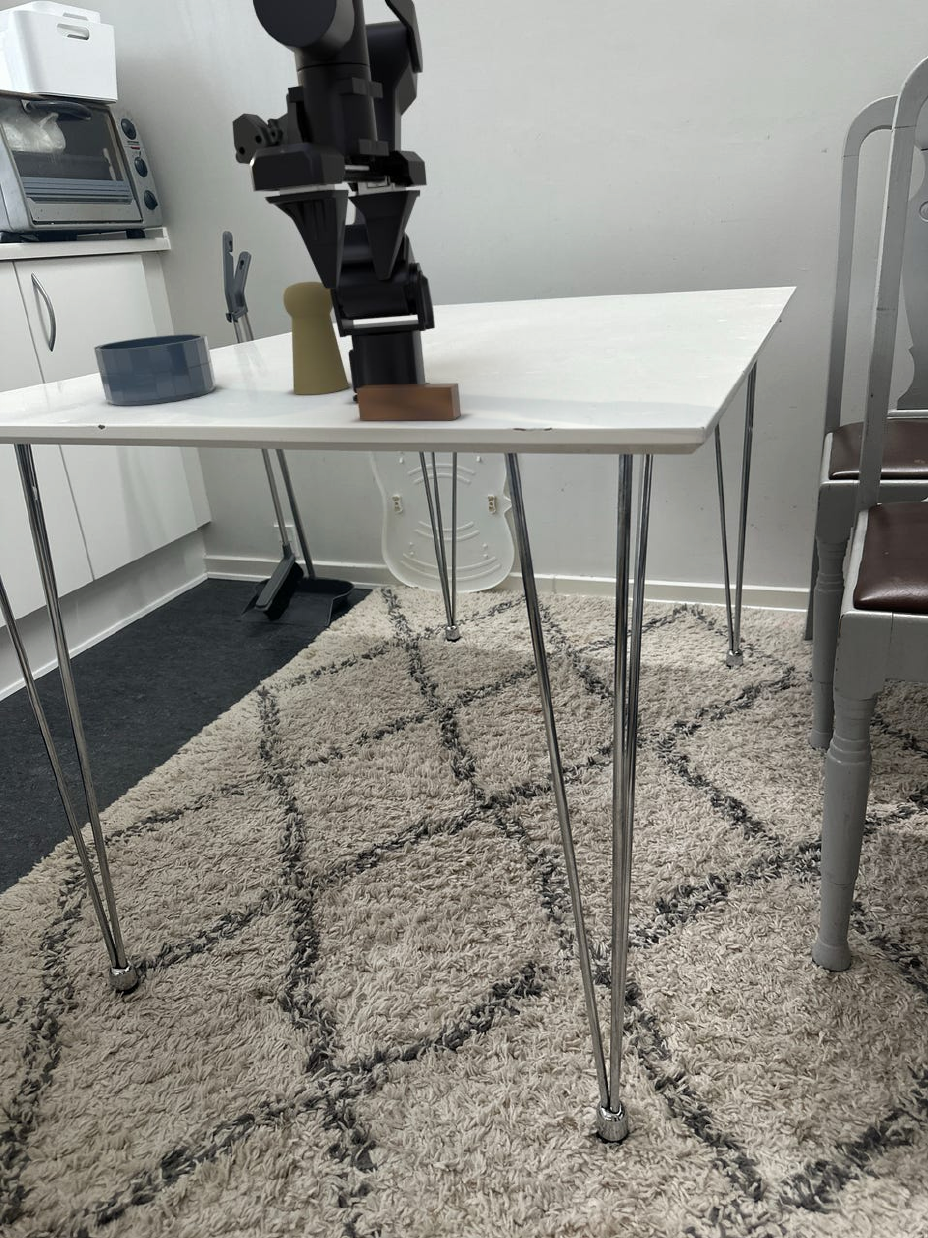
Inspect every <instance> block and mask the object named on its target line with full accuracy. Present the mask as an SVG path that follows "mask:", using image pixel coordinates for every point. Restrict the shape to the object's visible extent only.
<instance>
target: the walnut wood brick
mask: <svg viewBox="0 0 928 1238" xmlns="http://www.w3.org/2000/svg"><path fill="white" fill-rule="evenodd" d="M356 390H357V393H356V394H357V398H358V401H357V405H358V413H359V420H360V421H454V420H456V419H457V418H460V417H461V416H462V414H461V400H460V387H459V383H458V382H455V383H454V382H452V383H449V382H448V383H430V384H395V385H365V386H362V387H360V388H357V389H356Z"/></svg>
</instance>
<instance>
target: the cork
mask: <svg viewBox="0 0 928 1238" xmlns="http://www.w3.org/2000/svg"><path fill="white" fill-rule="evenodd" d="M282 298H283V306H284V309H285V311H286V313H287V314H288V315H289V316H290V317H291V345H292V349H291V350H292V382H293V394H296V395H306V396H308V395H309V396H311V395H322V394H323V395H324V394H330V393H336V392H339V391H345V390H346V389H348V388H349V387H350V385H349V381H348V377H347V374H346V373H347V372H346V370H345V366H344V363H343V358H342V354H341V350H340V346H339V344H338V340H337V339H338V338H337V335H336V332H335V328H334V324H333V320H332V316H331V312H332V311H333V309H334V308H333V304H332V299H331V294H330V289H326V288H324V286H323V284H322V282H320V281H304V282H297V283H294V284H291V285H288V286H287V287H286V288H285V290H284V293H283V297H282Z"/></svg>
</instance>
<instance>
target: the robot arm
mask: <svg viewBox="0 0 928 1238" xmlns="http://www.w3.org/2000/svg"><path fill="white" fill-rule="evenodd" d="M384 3H385V5H386V7H388V8H389V10H390V11H391V12H392V13H393V15H394V16H395V17H396V18H397V20H392V21H383V22H376V23H374V22H373V23H366V20H365V19H366V18H365V7H364V0H252V5H253V8H254V12H255V15H256V18H257V20H258V22H259V23H260V26H261V27H262V29H263V30H264V31H265V32H266V33H267V35H268V36H269V37H271V38H272V39H274V40H275V41H276V42H277V43H279V44H280V45H282V46H283V47H285V48H286V49H287V50H289V51H290V52H292V53H293V57H294V64H295V72H296V78H297V86H291V87H287V92H288V93H286V95H285V102H286V113H284V114H283V115H281V116H279V117H278V118H268V119H267V121H265V120H263V118H262V117H260V116H259V115H258V114H253V113H244V112H243V113H242V114H241V115H239V116H238V117H236V118H235V119H234V120H232V122H231V125H232V138H233V146H234V149H235V160H236V162H237V163H238V164H244V165H248V166H249V171H250V177H251V184H252V191H253V192H254V193H255V192H257V193H259V192H260V193H261V192H268V193H269V192H271V193H272V192H274V193H275V192H279V194H277V195H272V196H270V195H269V196H264V199H265V201H266V202H267V204H269V205H274V206H275V207H277V208H278V209H279V210H280V211H281V212H283V213H284V214H285V215H286V216H288V217H289V218H290V219H291V220H292V221H293V223H294V225H295V228H296V229H297V231H298V233H299V235H300V237H301V240H302V241H303V243H304V245H305V248H306V250H307V252H308V254H309V257H310V259H311V261H312V264H313V266H314V268H315V271H316V272H317V275H318V277H319V279H320V281H321V282H320V283H322V284H323V286H324V288H326V289H330V294H331V299H332V304H333V308H332V309H333V312H334V317H335V322H336V326H337V331H338V336H339V338H346V337H349V336H350V337H351V338H350V339H351V347H352V348H351V349H350V350H349V351H348V352H347V353H348V354H347V355H348V361H349V369H350V377H351V385H352V392H353V393H354V394H355V395H353V396H352V401H353V402H358V398H357V390H356V389H357V388H360V387H362V386H365V385H395V384H431V382H426V375H425V373H426V371H425V364H424V363H425V361H424V353H423V343H422V342H423V341H422V332H426V331H427V330H433V329H435V328H436V323H435V314H434V312H435V311H434V305H433V300H432V294H431V288H430V283H429V279H428V277H427V276H426V275H424V272H423V270H422V267H421V263H420V262H416V259H415V255H414V251H413V248H412V244H411V241H410V237H409V236H408V234H407V233H406V229H407V225H408V222H409V221H410V218H411V215H412V211H413V209H414V207H415V203H416V200H417V199H418V198H419V197H421V190H420V189H407V188H415V187H424V186H427V173H426V162H425V161H424V160H423V158H422V157H421V156H420V155H419V154H418V153H417V152H416V151H413V150H402V117H403V115H404V114H405V113H406V111H407V110H408V109H409V108H410V106H412V104H413V103H414V101H415V100H416V99H417V97H418V77H419V74H420V73H423V72H424V71H423V70H424V59H423V58H424V57H423V48H422V40H421V34H420V30H419V24H418V17H417V12H416V6H415V3H414V1H413V0H384ZM343 183H344V184H345V183H346V184H347V186H348V187H349V189H350V190H351V192H352V193H353V192H354V195H350V196H349V193H350V190H349V189H336V185H342V184H343ZM349 201H350V203H351V204H352V205H353V206H354V207H353V208H354V209H353V222H352V223H350V224H347V223H346V222H347V215H348V214H347V213H348V204H349ZM412 316H416V317H417V319H407V320H395V321H382V322H380V321H379V322H367V323H358V324H357V323H354V322H355V321H361V320H373V319H374V320H375V319H387V318H401V317H412Z"/></svg>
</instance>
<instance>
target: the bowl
mask: <svg viewBox="0 0 928 1238" xmlns="http://www.w3.org/2000/svg"><path fill="white" fill-rule="evenodd" d="M93 351H94V356H95V360H96V365H97V368H98V372H99V377H100V380H101V385H102V389H103V394H104V397H105V400H107V401H108V402H109V404H110V405H114V406H123V407H124V406H126V407H127V406H128V407H130V406H145V405H146V406H147V405H158V404H165V403H172V402H178V401H184V400H188V399H194V398H197V397H200V396H204V395H207V394H209V393H211V392H213V391H214V389H215V388H214V387H215V386H216V385H217V383H216V378H215V371H214V367H213V361H212V355H211V352H210V346H209V340H208V336H207V335H206V334H201V333H185V334H183V333H182V334H169V335H168V334H167V335H158V336H148V337H139V338H133V339H126V340H120V341H114V342H109V343H105V344H100V345H97V346H95V347H93Z"/></svg>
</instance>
